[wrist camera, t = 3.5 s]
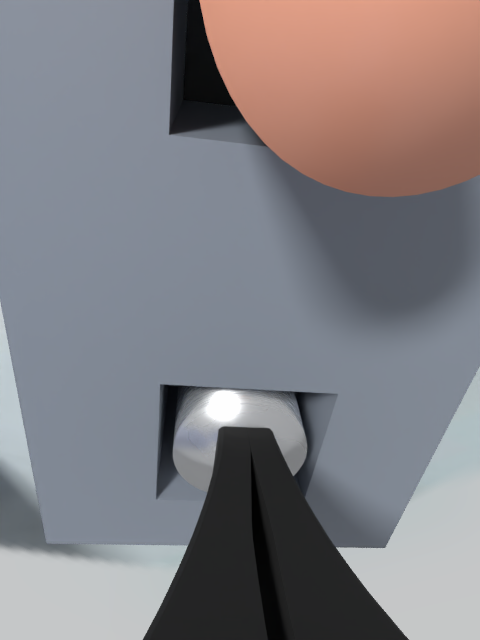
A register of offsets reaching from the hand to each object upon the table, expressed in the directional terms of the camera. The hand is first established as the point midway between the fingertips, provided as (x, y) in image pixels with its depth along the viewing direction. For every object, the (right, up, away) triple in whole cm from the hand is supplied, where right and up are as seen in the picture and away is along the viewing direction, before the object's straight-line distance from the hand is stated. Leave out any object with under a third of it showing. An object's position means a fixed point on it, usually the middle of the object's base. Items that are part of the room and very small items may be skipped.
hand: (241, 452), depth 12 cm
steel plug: (0, +2, +4) cm, 4 cm away
